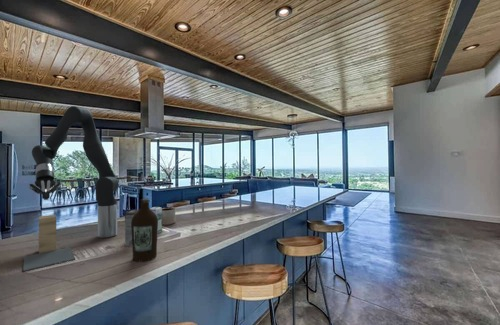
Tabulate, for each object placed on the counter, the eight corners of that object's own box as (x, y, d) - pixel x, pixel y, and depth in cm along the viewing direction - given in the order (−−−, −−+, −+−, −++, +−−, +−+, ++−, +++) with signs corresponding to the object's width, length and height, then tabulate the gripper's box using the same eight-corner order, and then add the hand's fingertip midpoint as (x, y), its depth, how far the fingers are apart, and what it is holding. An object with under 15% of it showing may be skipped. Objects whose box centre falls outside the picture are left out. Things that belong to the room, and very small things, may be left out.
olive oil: (134, 253, 107) (134, 198, 107) (159, 251, 109) (159, 197, 109) (128, 263, 96) (127, 201, 96) (156, 260, 99) (155, 200, 99)
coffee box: (132, 240, 126) (131, 209, 126) (144, 239, 126) (144, 209, 127) (124, 245, 117) (124, 213, 117) (137, 245, 117) (137, 212, 117)
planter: (155, 225, 156) (155, 210, 156) (163, 221, 167) (163, 207, 167) (170, 225, 155) (170, 211, 155) (178, 221, 165) (178, 207, 165)
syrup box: (156, 234, 136) (156, 208, 136) (147, 233, 137) (147, 208, 137) (162, 231, 142) (162, 207, 142) (153, 230, 143) (153, 206, 143)
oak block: (38, 250, 111) (38, 216, 111) (55, 247, 115) (55, 214, 115) (39, 254, 107) (39, 218, 107) (56, 250, 111) (56, 216, 111)
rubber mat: (24, 257, 103) (24, 256, 103) (70, 248, 114) (70, 247, 114) (23, 271, 89) (23, 270, 89) (75, 259, 100) (75, 258, 100)
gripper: (28, 169, 122) (28, 195, 113) (61, 168, 131) (63, 193, 122) (28, 178, 126) (28, 204, 117) (60, 177, 135) (62, 202, 126)
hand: (46, 198), depth 120 cm, fingers closed
